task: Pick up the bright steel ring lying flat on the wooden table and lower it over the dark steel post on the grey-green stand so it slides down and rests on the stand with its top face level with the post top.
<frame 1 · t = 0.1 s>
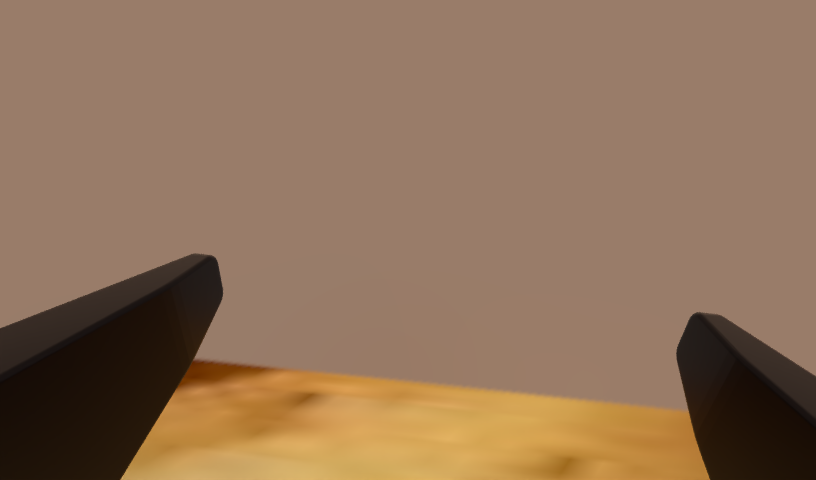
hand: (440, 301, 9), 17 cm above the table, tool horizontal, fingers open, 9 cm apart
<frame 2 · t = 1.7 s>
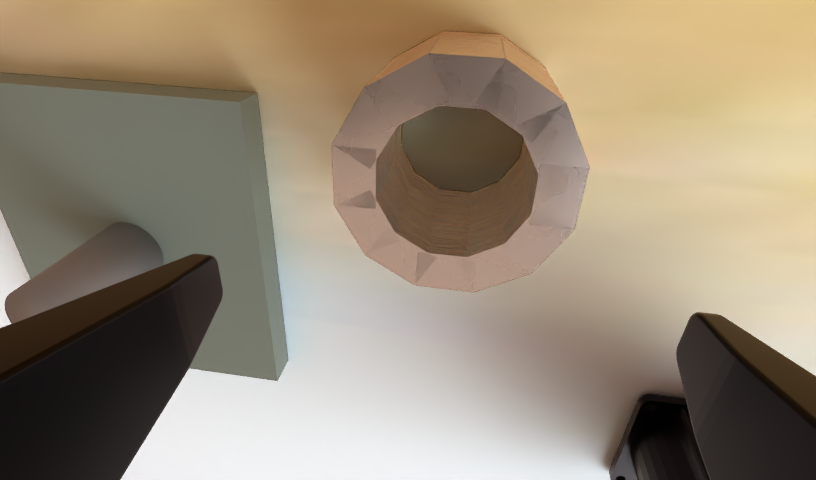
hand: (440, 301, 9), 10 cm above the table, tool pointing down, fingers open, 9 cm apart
steel ring: (461, 135, 18), on the table
post stand: (153, 234, 22), on the table
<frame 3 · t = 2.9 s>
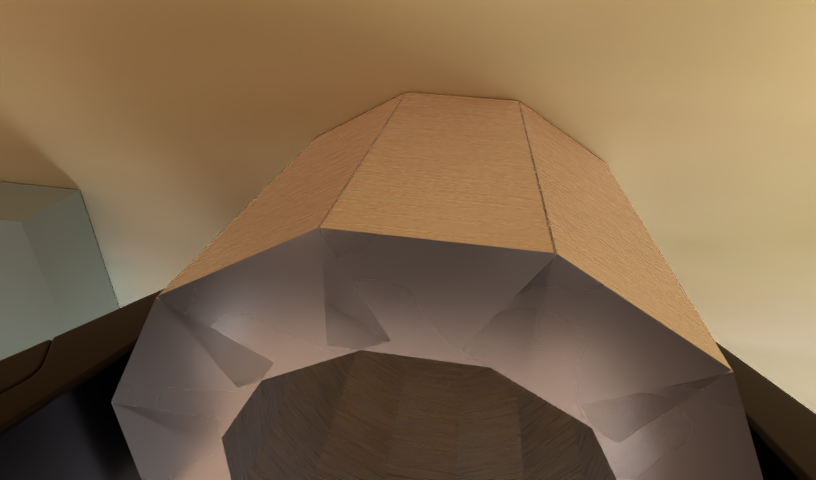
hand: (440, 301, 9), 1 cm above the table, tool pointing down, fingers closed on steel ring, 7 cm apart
steel ring: (444, 270, 10), on the table, touching gripper
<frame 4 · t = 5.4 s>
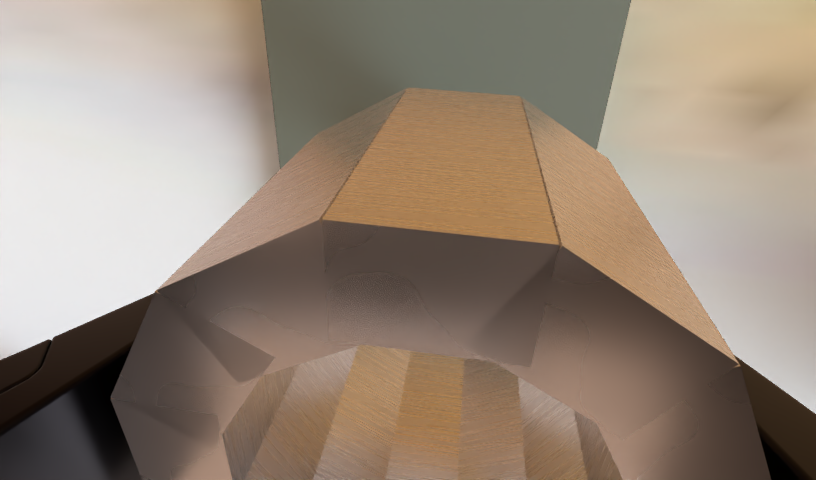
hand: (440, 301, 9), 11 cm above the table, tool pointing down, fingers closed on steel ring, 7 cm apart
steel ring: (446, 267, 10), point 10 cm above the table, touching gripper
post stand: (432, 150, 19), on the table
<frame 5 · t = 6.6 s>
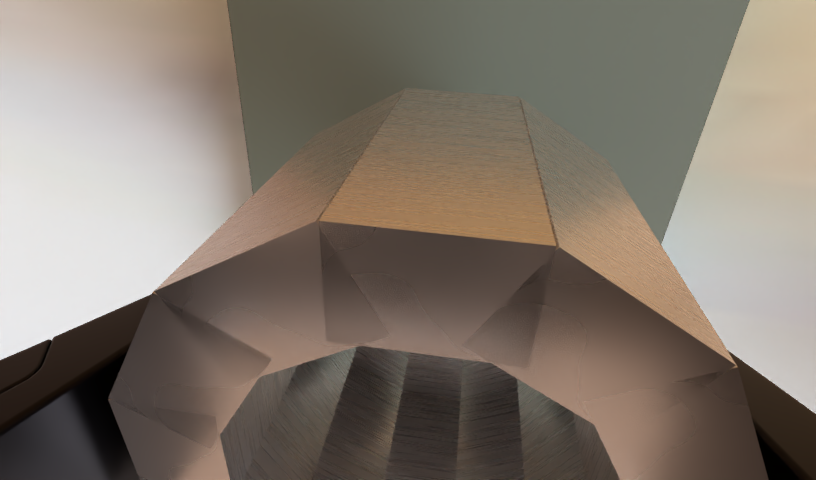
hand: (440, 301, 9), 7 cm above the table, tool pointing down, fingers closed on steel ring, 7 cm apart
steel ring: (444, 268, 10), point 6 cm above the table, touching gripper
post stand: (454, 171, 15), on the table
when the fingers open (4 cm above the table, at t = 7.8 s): steel ring drops 1 cm, resting on post stand.
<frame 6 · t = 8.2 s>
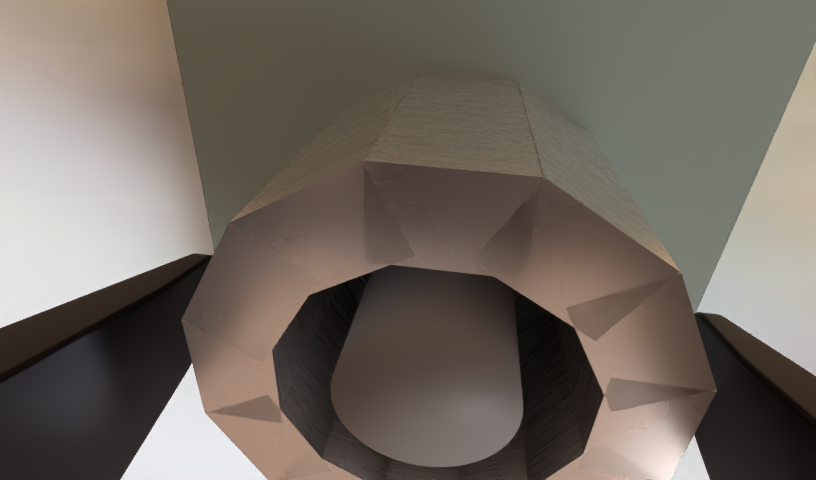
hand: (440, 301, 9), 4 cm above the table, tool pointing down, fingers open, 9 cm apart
steel ring: (451, 235, 11), point 1 cm above the table, touching post stand
post stand: (451, 209, 12), on the table
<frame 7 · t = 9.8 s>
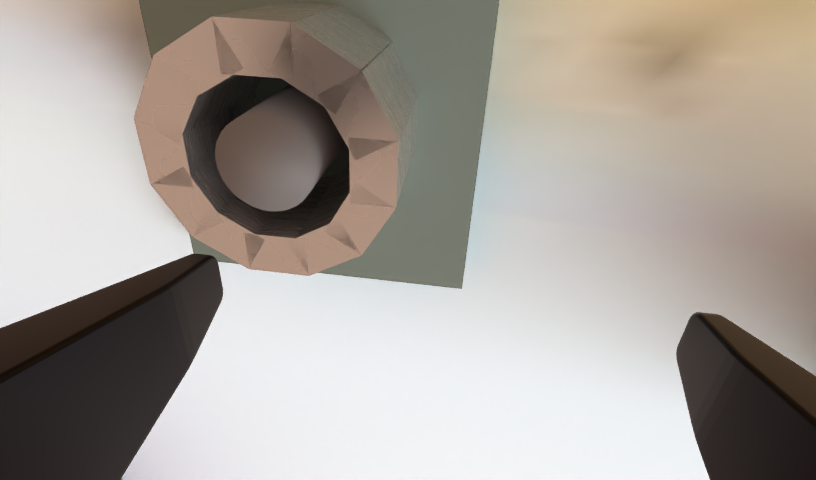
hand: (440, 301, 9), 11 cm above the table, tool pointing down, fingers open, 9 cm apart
steel ring: (318, 113, 17), point 1 cm above the table, touching post stand
post stand: (328, 104, 19), on the table
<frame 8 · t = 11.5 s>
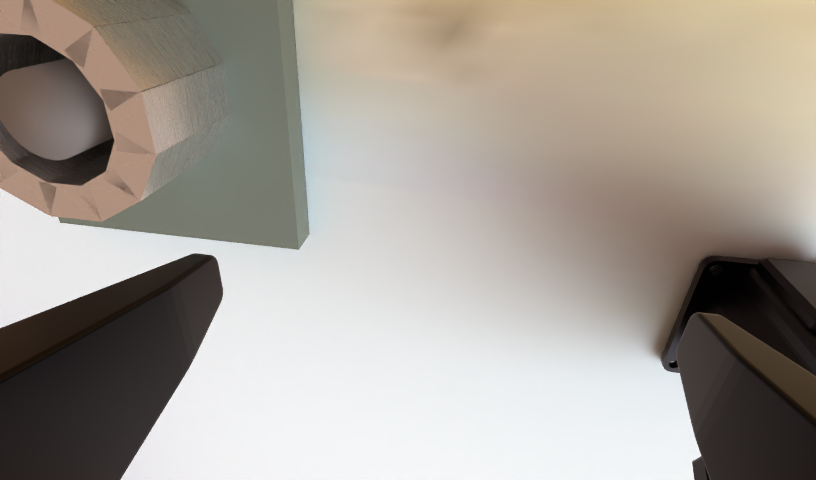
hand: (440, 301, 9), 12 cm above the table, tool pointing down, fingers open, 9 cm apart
steel ring: (141, 81, 19), point 1 cm above the table, touching post stand
post stand: (162, 75, 20), on the table
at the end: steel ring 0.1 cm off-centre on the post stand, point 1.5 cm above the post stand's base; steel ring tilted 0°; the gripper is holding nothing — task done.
